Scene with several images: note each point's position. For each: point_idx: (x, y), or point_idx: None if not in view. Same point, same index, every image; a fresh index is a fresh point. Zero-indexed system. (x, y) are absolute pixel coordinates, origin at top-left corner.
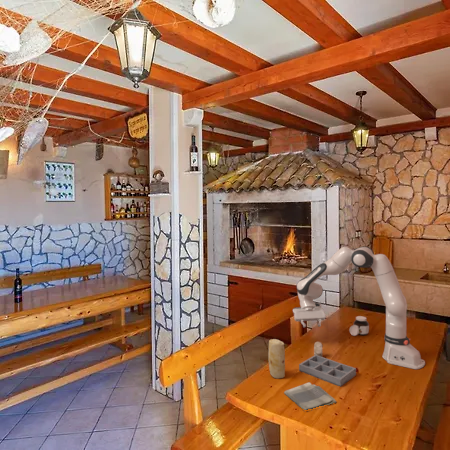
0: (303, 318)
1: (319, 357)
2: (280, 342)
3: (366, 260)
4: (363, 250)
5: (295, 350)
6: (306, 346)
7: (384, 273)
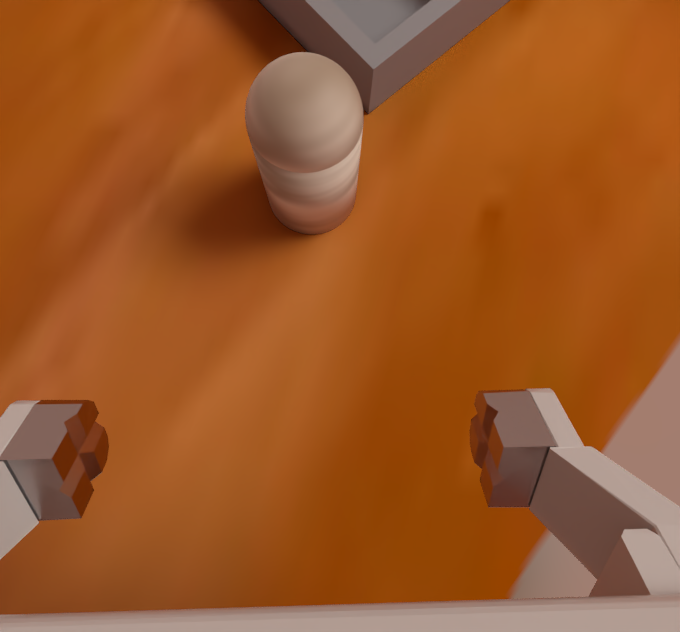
0: (675, 609)
1: (345, 19)
2: None
3: None
4: None
5: None
6: (363, 509)
7: None
